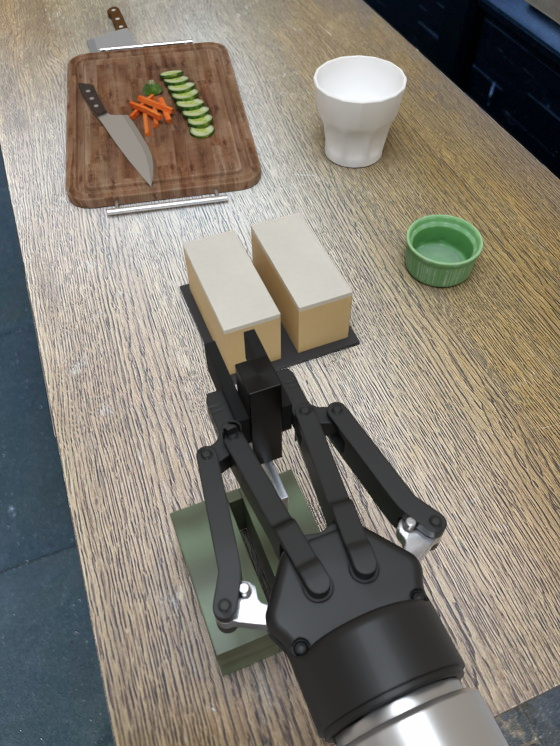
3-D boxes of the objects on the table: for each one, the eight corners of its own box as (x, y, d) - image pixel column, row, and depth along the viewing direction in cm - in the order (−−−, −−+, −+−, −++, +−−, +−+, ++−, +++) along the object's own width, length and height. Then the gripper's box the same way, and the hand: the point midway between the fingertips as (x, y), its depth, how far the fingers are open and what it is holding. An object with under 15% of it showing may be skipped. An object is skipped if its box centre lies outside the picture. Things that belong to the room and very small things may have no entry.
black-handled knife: (297, 549, 48) (301, 423, 35) (272, 559, 48) (266, 434, 34) (259, 462, 53) (250, 320, 39) (235, 470, 52) (218, 330, 39)
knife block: (346, 623, 53) (352, 598, 49) (222, 677, 51) (216, 656, 46) (290, 501, 60) (291, 469, 56) (179, 542, 58) (169, 513, 53)
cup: (392, 127, 98) (403, 55, 90) (399, 177, 91) (411, 102, 82) (310, 127, 99) (313, 54, 90) (310, 176, 91) (313, 101, 82)
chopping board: (268, 198, 88) (267, 179, 86) (67, 223, 85) (61, 204, 83) (223, 41, 115) (222, 23, 113) (69, 56, 112) (65, 38, 110)
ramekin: (418, 298, 76) (424, 270, 73) (390, 249, 82) (394, 221, 78) (487, 283, 78) (497, 255, 74) (455, 236, 83) (463, 208, 80)
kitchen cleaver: (75, 14, 121) (128, 3, 123) (77, 20, 122) (129, 8, 124) (99, 77, 107) (157, 63, 109) (101, 83, 108) (159, 69, 110)
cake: (359, 344, 72) (366, 295, 66) (223, 388, 68) (217, 341, 62) (302, 254, 81) (303, 204, 75) (179, 289, 78) (170, 239, 72)
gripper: (248, 795, 31) (130, 416, 44) (515, 669, 34) (330, 352, 48) (239, 776, 25) (106, 345, 39) (563, 626, 28) (337, 278, 42)
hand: (230, 350), depth 43 cm, fingers closed on black-handled knife, 2 cm apart
